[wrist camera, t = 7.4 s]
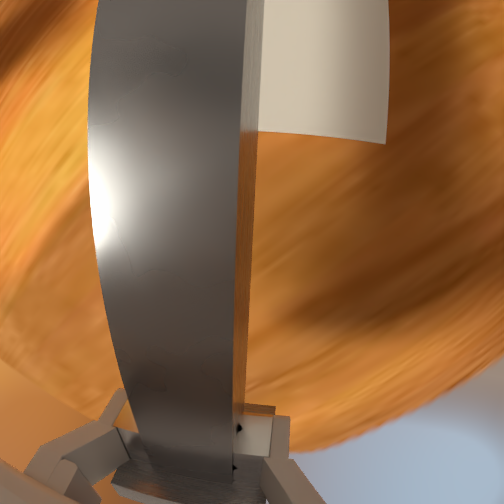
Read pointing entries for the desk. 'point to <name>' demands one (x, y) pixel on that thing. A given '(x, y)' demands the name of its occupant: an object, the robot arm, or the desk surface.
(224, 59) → the shaft
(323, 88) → the bearing block
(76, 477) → the robot arm
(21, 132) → the desk surface
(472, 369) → the desk surface
